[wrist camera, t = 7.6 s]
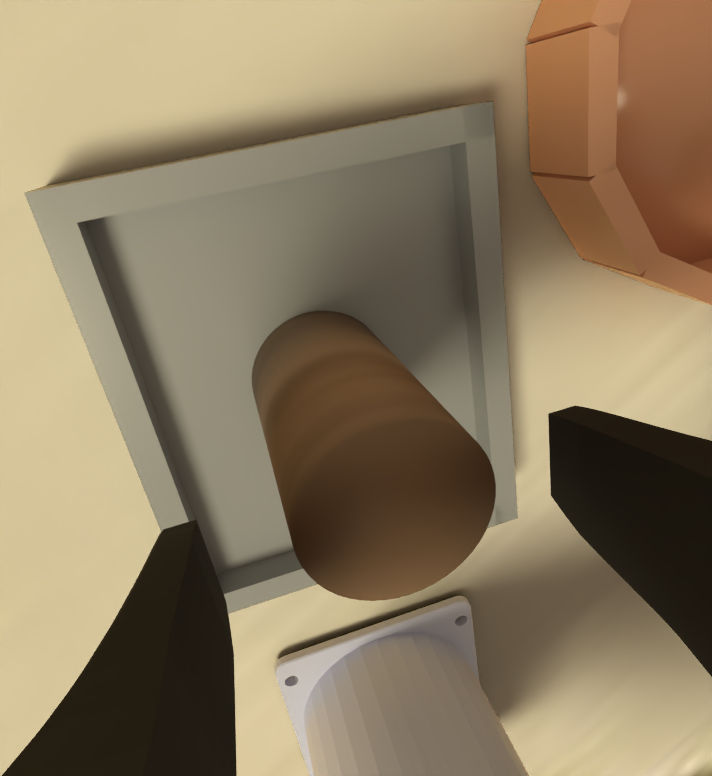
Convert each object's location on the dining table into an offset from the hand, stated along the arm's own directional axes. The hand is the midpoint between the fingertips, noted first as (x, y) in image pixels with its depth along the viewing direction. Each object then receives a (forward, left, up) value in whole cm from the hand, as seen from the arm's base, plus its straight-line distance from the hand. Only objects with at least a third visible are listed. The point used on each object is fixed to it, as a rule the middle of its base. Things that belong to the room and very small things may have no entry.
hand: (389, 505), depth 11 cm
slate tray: (0, 0, -7) cm, 7 cm away
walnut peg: (0, 0, -6) cm, 6 cm away
